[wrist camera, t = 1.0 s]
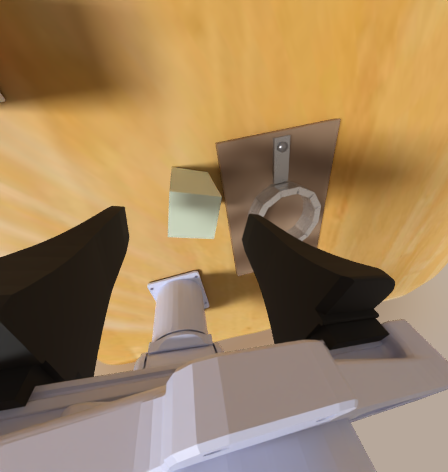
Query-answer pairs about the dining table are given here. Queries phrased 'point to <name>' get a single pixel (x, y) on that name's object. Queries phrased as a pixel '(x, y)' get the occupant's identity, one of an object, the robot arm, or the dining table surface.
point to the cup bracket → (277, 181)
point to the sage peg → (192, 204)
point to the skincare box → (2, 98)
